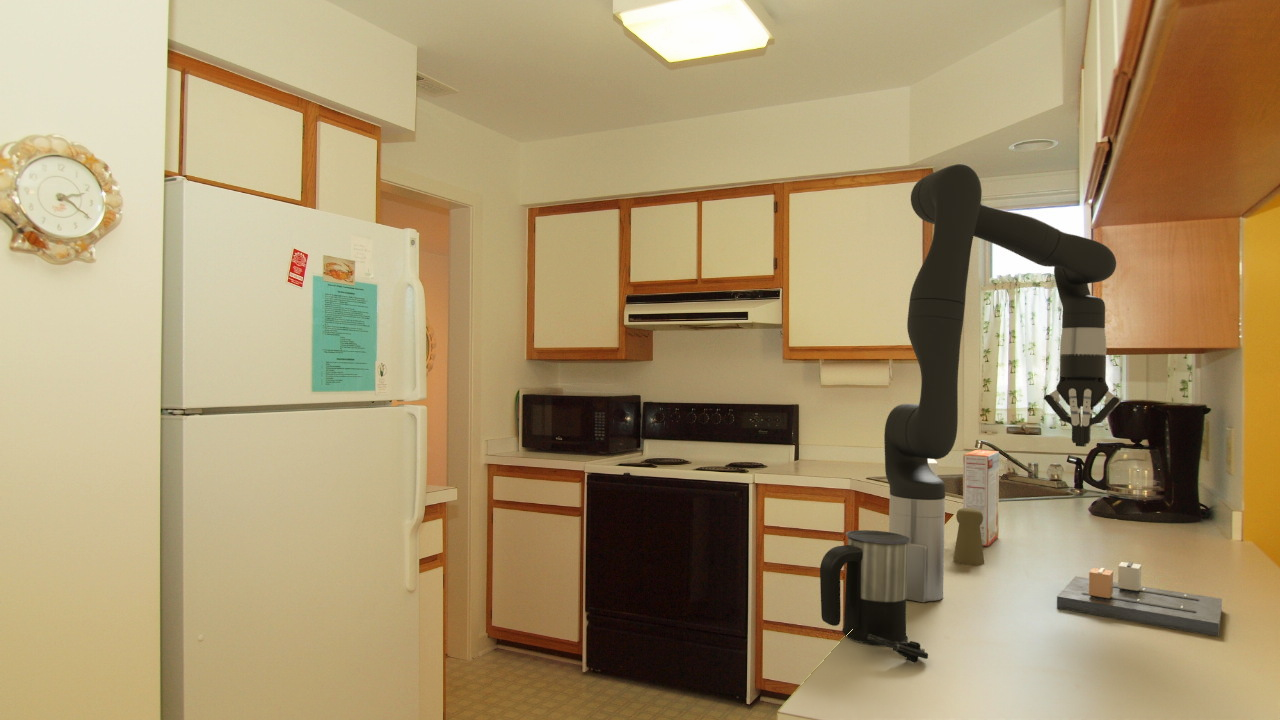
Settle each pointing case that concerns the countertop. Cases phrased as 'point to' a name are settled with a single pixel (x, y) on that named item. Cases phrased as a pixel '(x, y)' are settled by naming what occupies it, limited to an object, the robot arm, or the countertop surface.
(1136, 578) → the fader grey
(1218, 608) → the console
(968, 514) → the cork
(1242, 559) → the countertop surface
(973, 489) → the cracker box
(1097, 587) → the fader orange
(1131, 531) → the countertop surface
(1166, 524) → the countertop surface
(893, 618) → the milk frother
